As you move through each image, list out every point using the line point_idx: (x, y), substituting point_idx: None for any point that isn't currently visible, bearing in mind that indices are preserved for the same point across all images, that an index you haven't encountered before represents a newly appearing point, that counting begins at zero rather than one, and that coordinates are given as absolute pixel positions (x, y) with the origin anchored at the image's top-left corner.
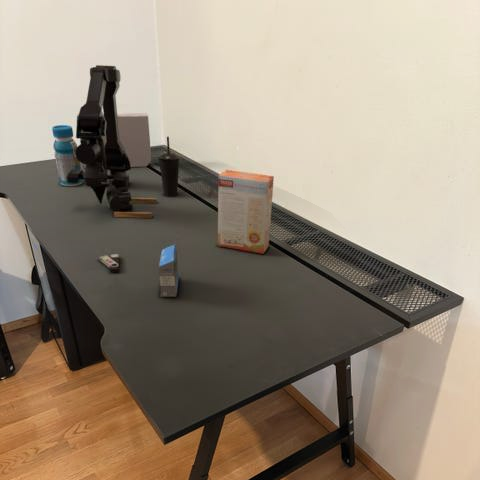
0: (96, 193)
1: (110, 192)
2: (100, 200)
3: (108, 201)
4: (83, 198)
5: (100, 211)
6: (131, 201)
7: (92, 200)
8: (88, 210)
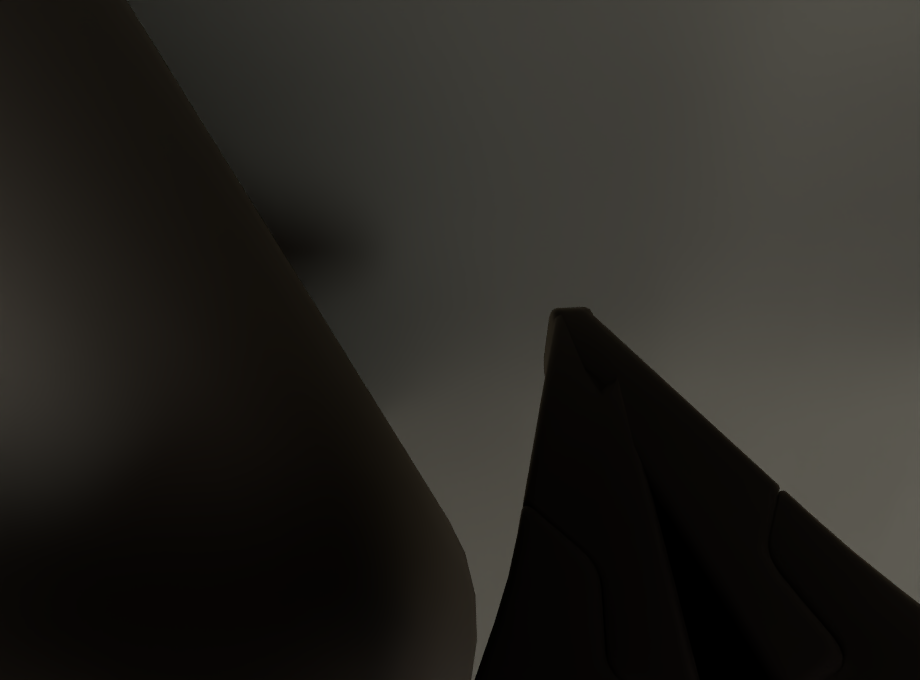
0: (773, 532)
1: (136, 655)
2: (582, 359)
3: (178, 168)
4: (844, 534)
5: (542, 82)
6: None
7: None
8: (838, 114)
